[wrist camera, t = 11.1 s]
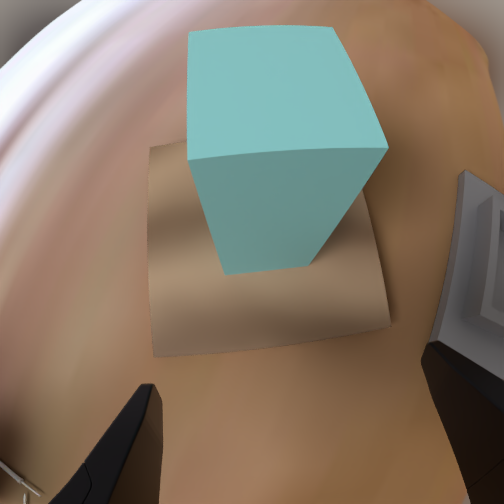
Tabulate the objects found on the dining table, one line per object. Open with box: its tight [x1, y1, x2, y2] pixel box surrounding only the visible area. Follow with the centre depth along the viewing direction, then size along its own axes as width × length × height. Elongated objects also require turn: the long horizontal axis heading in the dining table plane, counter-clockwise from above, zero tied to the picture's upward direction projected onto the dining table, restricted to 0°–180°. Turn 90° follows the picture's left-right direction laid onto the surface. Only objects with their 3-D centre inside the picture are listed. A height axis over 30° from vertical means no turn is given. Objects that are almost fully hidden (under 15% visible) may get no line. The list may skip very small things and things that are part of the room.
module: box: [187, 25, 389, 275], centre depth 12 cm, size 5×4×11 cm
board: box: [147, 142, 391, 357], centre depth 18 cm, size 13×13×1 cm
